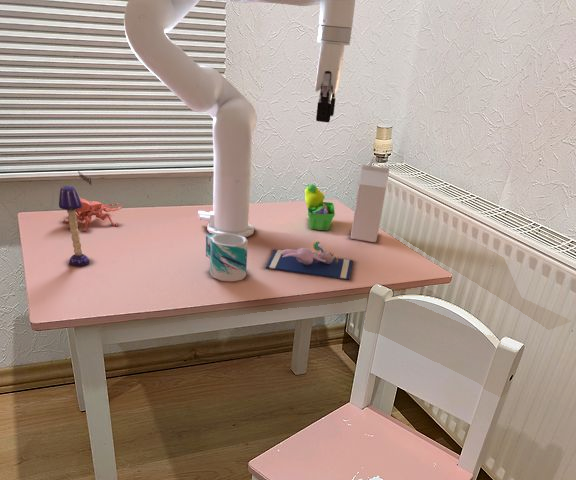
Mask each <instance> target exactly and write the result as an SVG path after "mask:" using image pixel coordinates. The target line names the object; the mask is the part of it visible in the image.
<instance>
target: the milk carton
mask: <svg viewBox="0 0 576 480" xmlns="http://www.w3.org/2000/svg"><path fill="white" fill-rule="evenodd" d="M389 173H390V168H388V167H382V166H374V165H367V164H362V165H361V170H360V176H359V180H358V186H357V193H356V199H355V206H354V213H353V219H352V226H351V233H350V239H352V240H357V241H364V242H370V243H371V242H372V243H377V241H378V237H379V236H378V235H379V231H380V224H381V218H382V214H383V207H384V201H385V196H386V192H387V191H386V190H387V187H388V186H387V185H388V178H389Z"/></svg>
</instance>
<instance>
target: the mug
mask: <svg viewBox="0 0 576 480" xmlns="http://www.w3.org/2000/svg"><path fill="white" fill-rule="evenodd" d="M248 243H249V241H248V239H247V237H244V236H241V235H238V234H231V233H222V234H207V235H205V257H207V258H208V259H210V260H209V261H210V265H209V266H210V267H209V268H210V269H209V273H210V275H211V277H212V278H213V279H216V280H218V281H221V282H237V281H241V280H243V279H244V278H245V277H247V266H248V245H249V244H248Z"/></svg>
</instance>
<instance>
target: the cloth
mask: <svg viewBox="0 0 576 480" xmlns="http://www.w3.org/2000/svg"><path fill="white" fill-rule="evenodd" d="M282 251H284V249H283V250H282V249H277V248H276V249H273V252H272V253H271V256H270V258H269V260H268V262H267V264H266V265H265V269H268V270H275V271H282V272H288V273H295V274H302V275H303V274H304V275H310V276H317V277H324V278H331V279H339V280H345V281H350V277H351V273H352V267H353V262H354V260H353V259H347V258H339V257H338V262H336V258H337V257H336V258H334V260H333V261H332V263H331V264H325V263H322V262H320V261H319V262H316V261H314V260H313V262H312V263H311V264H308V265H306V264H303V263H300V262H299V261H298V260H297V258H296V257H294V256H288V257H282V256H284V255H280V253H281V252H282ZM336 263H337V264H336Z"/></svg>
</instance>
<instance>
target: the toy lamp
mask: <svg viewBox="0 0 576 480" xmlns="http://www.w3.org/2000/svg"><path fill="white" fill-rule="evenodd" d="M80 198H81V197H80V195H79V194H78V191H77V188H76V187H74V186H72V185H65V186H61V187H60V189H59V197H58V207H59V209H61V210H66V212H67V219H68V221H69V223H68V224H69V230H70V231H69V232H70V235H71V242H72V247H73V253H74V254H72V255H71V256H70V258H69V265H71V266H74V267H83V266H87V265H88V264H90V259H89V257H88V256H87V255H86V254H84V253H83V250H82V243H81V237H80V235H79V234H80V230H79V225H78V221H76V220H77V217H76V215H75V213H76V210H75V209H78V208H81V207H82V203H81V201H80ZM76 214H77V213H76ZM70 228H71V229H70Z"/></svg>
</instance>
